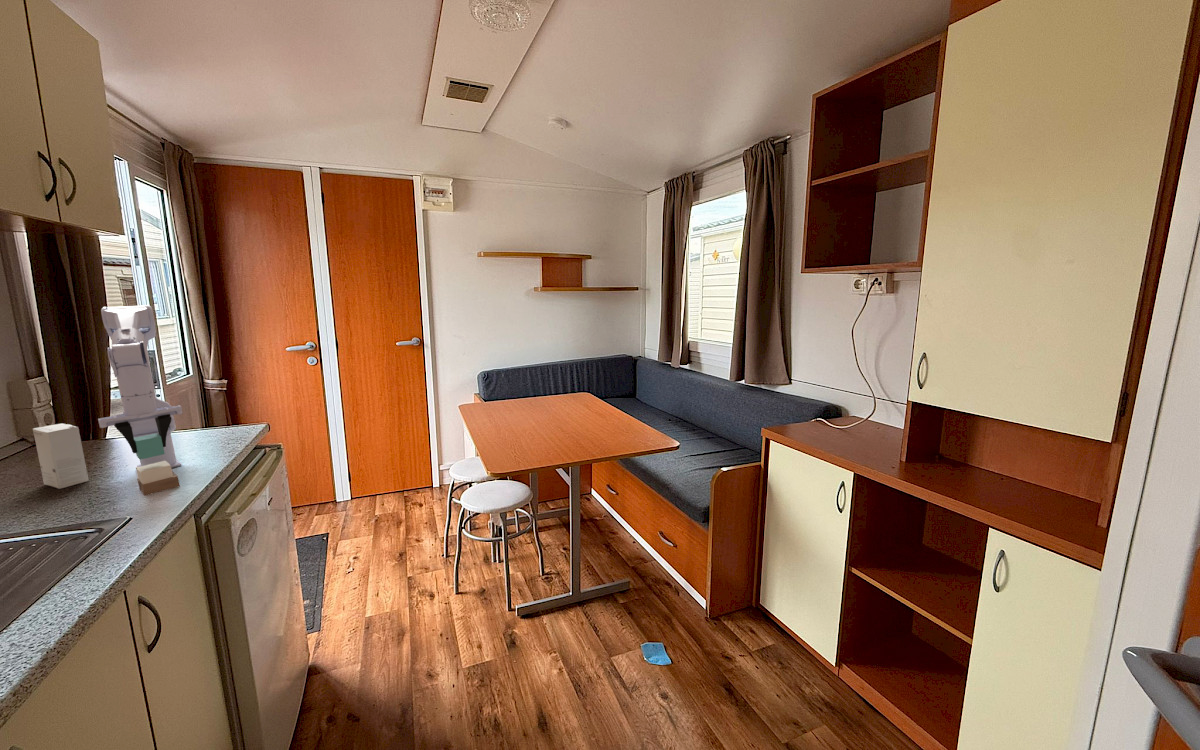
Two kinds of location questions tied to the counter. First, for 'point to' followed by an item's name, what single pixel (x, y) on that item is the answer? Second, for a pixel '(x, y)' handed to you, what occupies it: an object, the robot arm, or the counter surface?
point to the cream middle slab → (154, 472)
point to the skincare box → (60, 455)
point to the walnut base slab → (159, 485)
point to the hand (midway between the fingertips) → (149, 449)
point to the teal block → (149, 446)
